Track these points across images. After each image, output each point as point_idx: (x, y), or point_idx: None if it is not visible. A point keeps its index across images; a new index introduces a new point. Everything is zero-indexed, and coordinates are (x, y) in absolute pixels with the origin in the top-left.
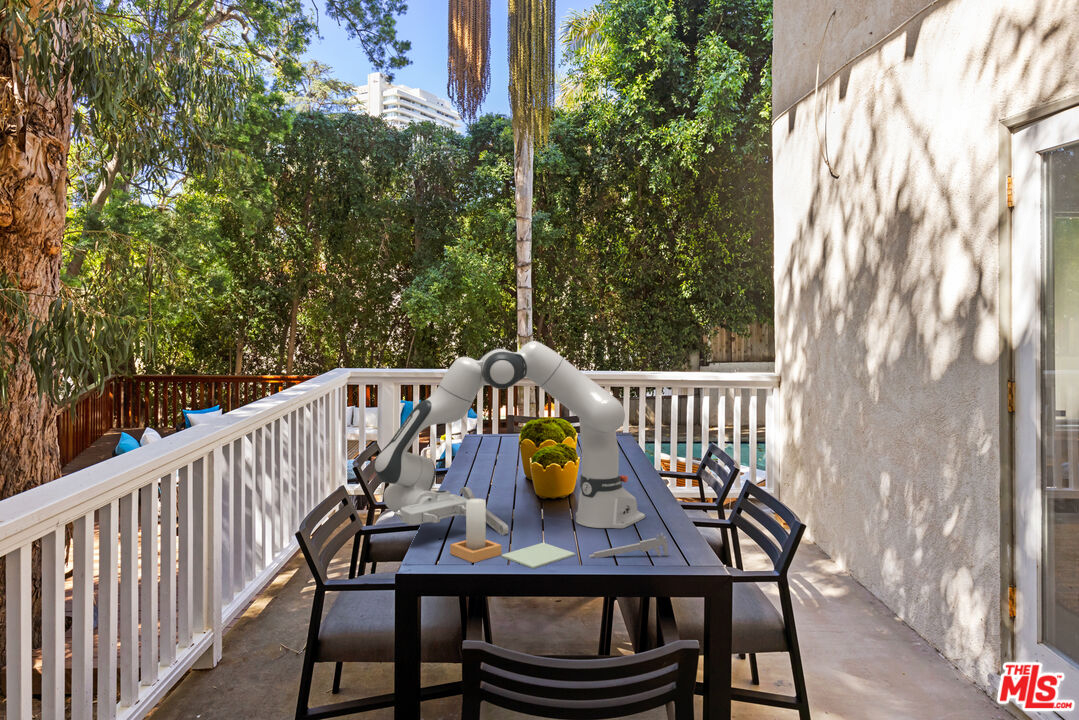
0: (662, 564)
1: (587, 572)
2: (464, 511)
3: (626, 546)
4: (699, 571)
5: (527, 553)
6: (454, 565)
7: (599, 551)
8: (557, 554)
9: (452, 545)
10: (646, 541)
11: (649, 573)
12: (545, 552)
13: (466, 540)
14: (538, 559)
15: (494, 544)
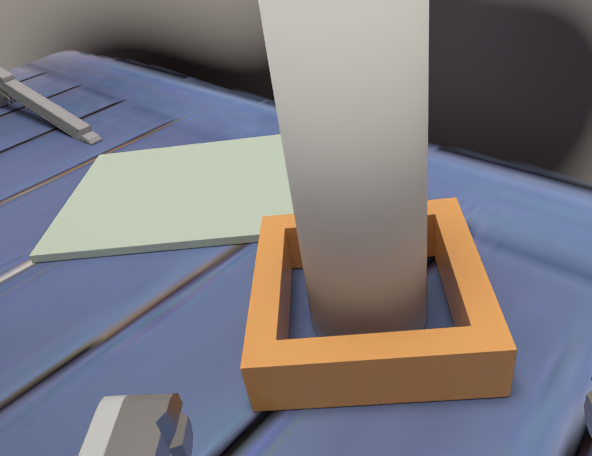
0: (63, 84)
1: (214, 95)
2: (175, 394)
3: (31, 92)
4: (72, 59)
5: (201, 202)
6: (558, 252)
7: (71, 122)
8: (143, 164)
9: (507, 331)
10: (4, 69)
11: (134, 69)
12: (148, 186)
13: (425, 253)
14: (229, 159)
15: (280, 233)
